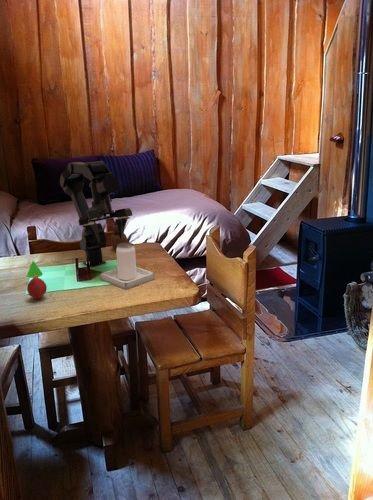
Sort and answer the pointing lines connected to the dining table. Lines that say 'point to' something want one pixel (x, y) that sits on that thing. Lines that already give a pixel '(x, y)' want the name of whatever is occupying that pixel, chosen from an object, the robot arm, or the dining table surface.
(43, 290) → the red rounded piece
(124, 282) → the tray
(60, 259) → the dining table surface
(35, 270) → the green pyramid
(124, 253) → the can
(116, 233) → the brown rounded spiky piece
